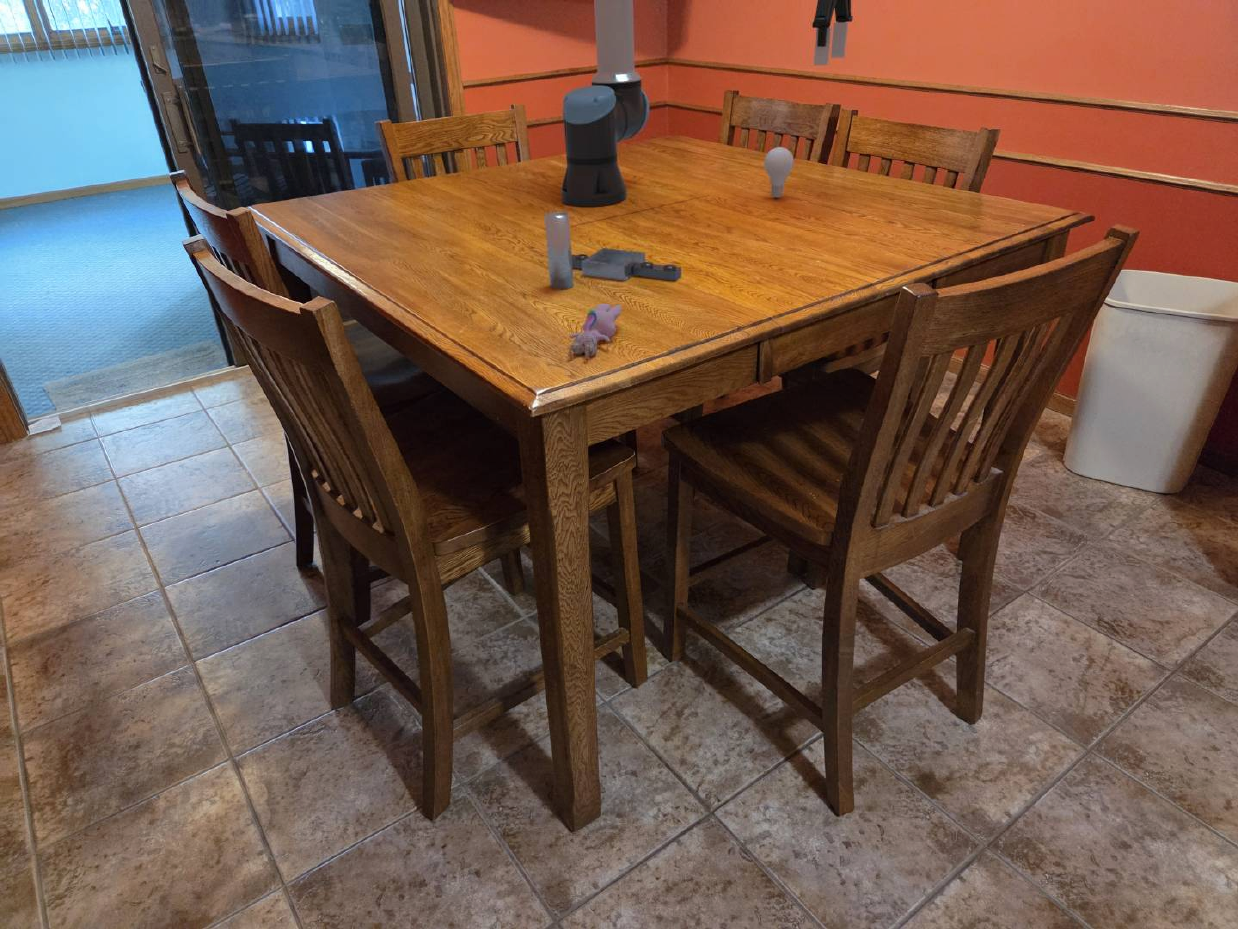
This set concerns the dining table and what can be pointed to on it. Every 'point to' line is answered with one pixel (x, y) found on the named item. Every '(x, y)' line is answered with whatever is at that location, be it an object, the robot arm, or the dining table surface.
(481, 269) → the dining table surface
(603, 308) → the purple toy figure
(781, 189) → the lightbulb
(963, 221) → the dining table surface
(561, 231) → the pin
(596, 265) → the grey mounting bracket
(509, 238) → the dining table surface
